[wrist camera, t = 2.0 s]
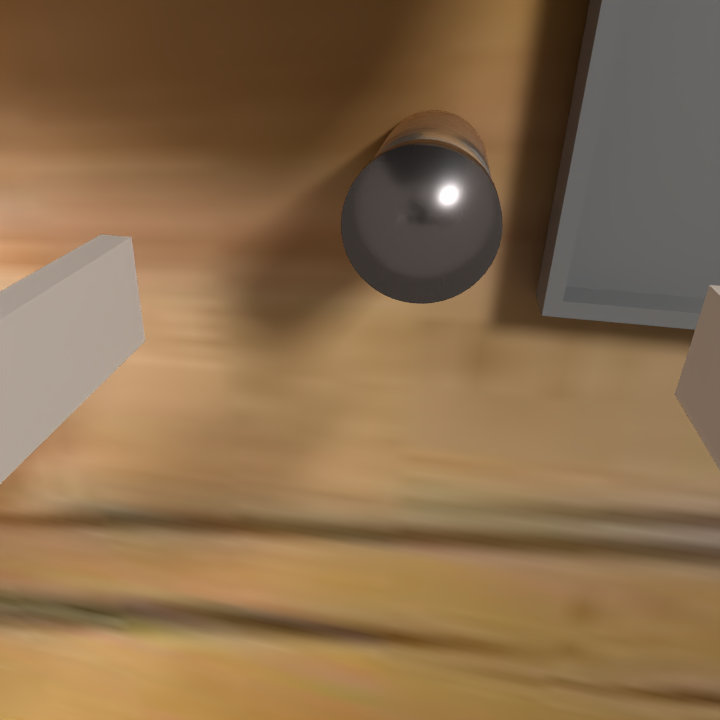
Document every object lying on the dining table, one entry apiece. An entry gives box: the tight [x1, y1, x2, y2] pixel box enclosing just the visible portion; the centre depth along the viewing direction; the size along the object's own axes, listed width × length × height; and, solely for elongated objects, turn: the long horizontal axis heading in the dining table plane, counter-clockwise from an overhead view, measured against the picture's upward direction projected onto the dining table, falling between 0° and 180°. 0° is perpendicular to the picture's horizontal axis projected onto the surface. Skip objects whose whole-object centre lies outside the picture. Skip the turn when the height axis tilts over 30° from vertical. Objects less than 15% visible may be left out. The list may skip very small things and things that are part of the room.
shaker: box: [341, 110, 503, 304], centre depth 25 cm, size 5×5×10 cm
